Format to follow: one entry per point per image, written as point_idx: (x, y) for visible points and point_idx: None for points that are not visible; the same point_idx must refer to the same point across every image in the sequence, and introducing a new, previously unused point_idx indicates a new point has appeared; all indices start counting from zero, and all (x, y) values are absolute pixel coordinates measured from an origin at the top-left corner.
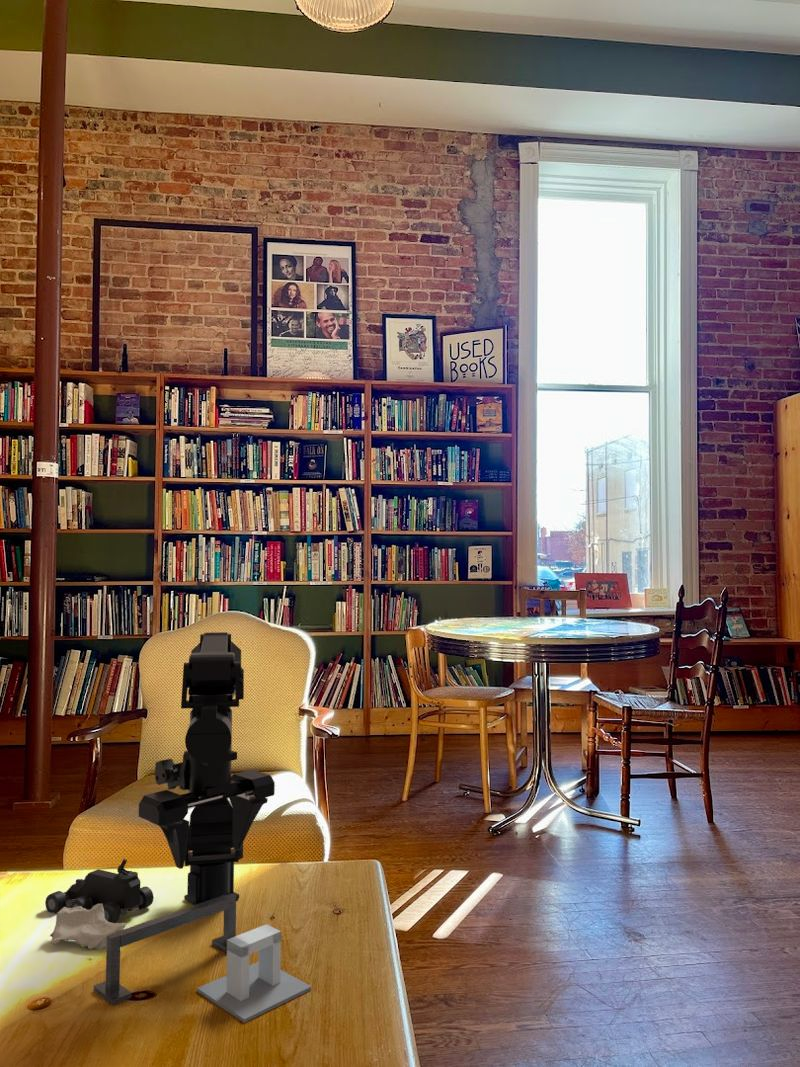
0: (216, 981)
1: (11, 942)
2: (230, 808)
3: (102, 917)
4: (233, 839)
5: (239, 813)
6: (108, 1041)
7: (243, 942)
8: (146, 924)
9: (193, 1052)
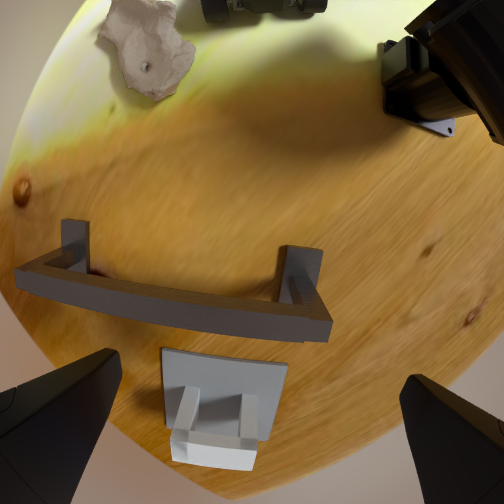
0: (193, 359)
1: None
2: None
3: (165, 29)
4: (426, 398)
5: (477, 500)
6: (48, 335)
7: (184, 457)
8: (73, 296)
9: None
